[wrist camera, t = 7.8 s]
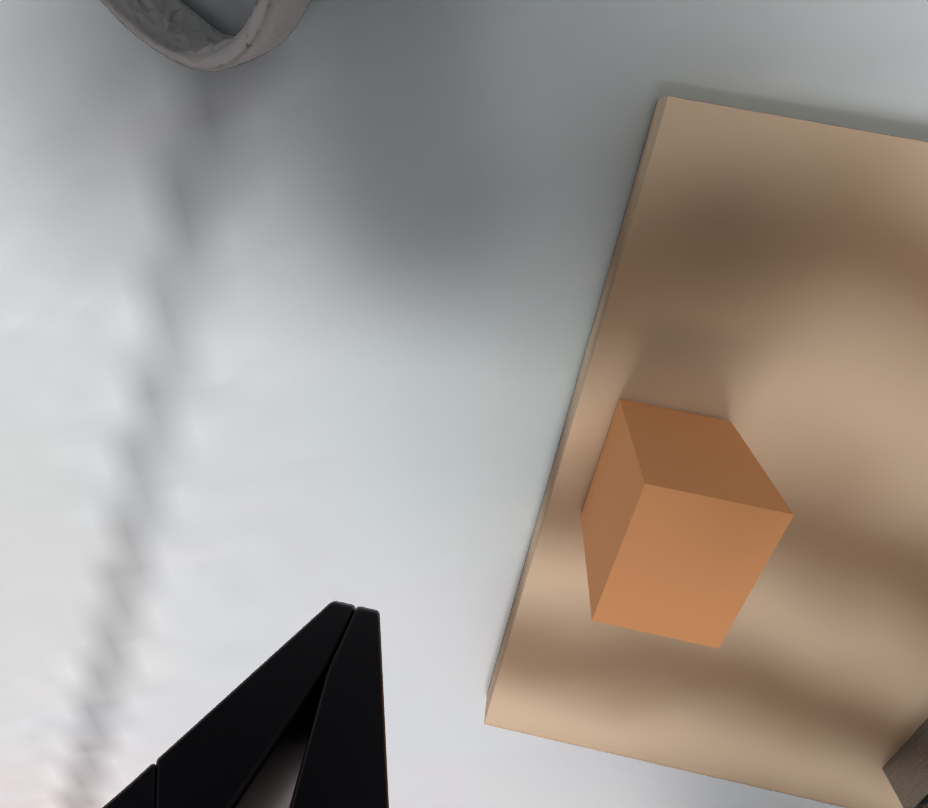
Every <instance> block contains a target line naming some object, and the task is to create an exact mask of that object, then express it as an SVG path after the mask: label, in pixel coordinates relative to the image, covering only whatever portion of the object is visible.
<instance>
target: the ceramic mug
mask: <svg viewBox="0 0 928 808" xmlns="http://www.w3.org/2000/svg"><path fill="white" fill-rule="evenodd" d="M100 1H101V2H102V3H103V4H104V6H106V7H107V8H108V9H109V10H110V11H111V12H112V13H113V14H114V16H115V17H116V18H117V19H118V20H119V21H120V22H121V23H122V24H123V25H124V26H125V27H127V28H128V29H129V30H130V31H131V32H132V33H133V34H135V35H136V36H137V37H138V38H140V39H141V40H142V41H144V42H145V43H146V44H148V45H149V46H150V47H152V48H153V49H155V50H156V51H158V52H159V53H161V54H162V55H164V56H165V57H167V58H169V59H171V60H173V61H175V62H177V63H179V64H181V65H183V66H185V67H188V68H192V69H197V70H204V71H220V70H223V69H226V68H230V67H233V66H237V65H240V64H242V63H244V62H246V61H249V60H251V59H254V58H256V57H259V56H261V55H263V54H265V53H267V52H269V51H270V50H272V49H274V48H275V47H277V46H278V45H279V44H280V43H281V42H282V41H283V40H284V39H285V38H286V37H287V36H288V35H289V34H290V33H291V32H292V31H293V29H294V28H295V26H296V24H297V23H298V21H299V20H300V18H301V17H302V15H303V13H304V11H305V9H306V7H307V5H308V3H309V1H310V0H257V3H256V6H255V8H254V10H253V12H252V14H251V15H250V17H249V19H248V20H247V22H246V24H245V25H244V27H243V28H242V30H241V31H240V32H239V33H238V34H236V35H235V36H233V35H228V34H222V33H221V32H220V31H219V30H218V29H216V28H214V27H213V26H211V25H210V24H209V23H207V22H206V21H205V20H204V19H203V18H201V17H200V16H199V15H198V14H197V13H195V12H194V11H193V10H192V9H191V8H189V7H188V6H187V5H186V4H184V3H183V2H182V1H181V0H100Z"/></svg>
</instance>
